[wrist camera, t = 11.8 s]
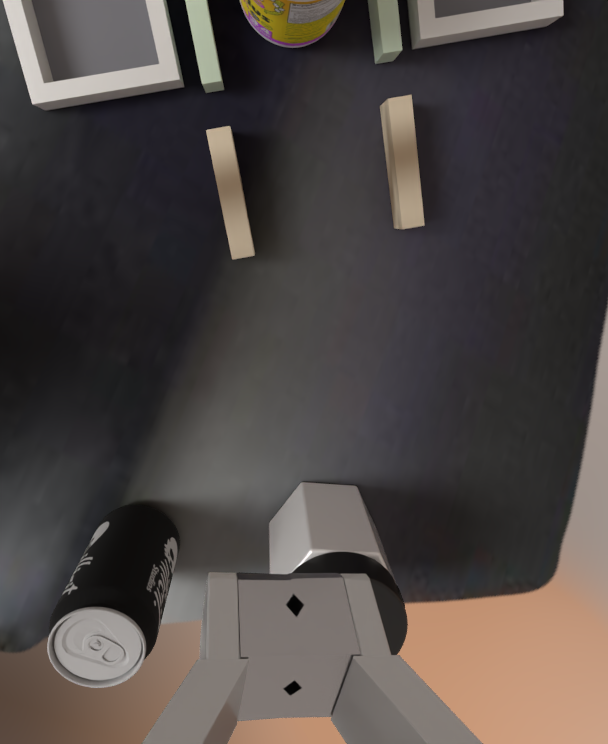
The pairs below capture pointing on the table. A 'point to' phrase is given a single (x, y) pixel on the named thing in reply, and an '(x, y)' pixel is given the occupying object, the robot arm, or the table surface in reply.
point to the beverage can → (115, 598)
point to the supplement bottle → (292, 19)
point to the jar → (336, 546)
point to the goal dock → (382, 30)
